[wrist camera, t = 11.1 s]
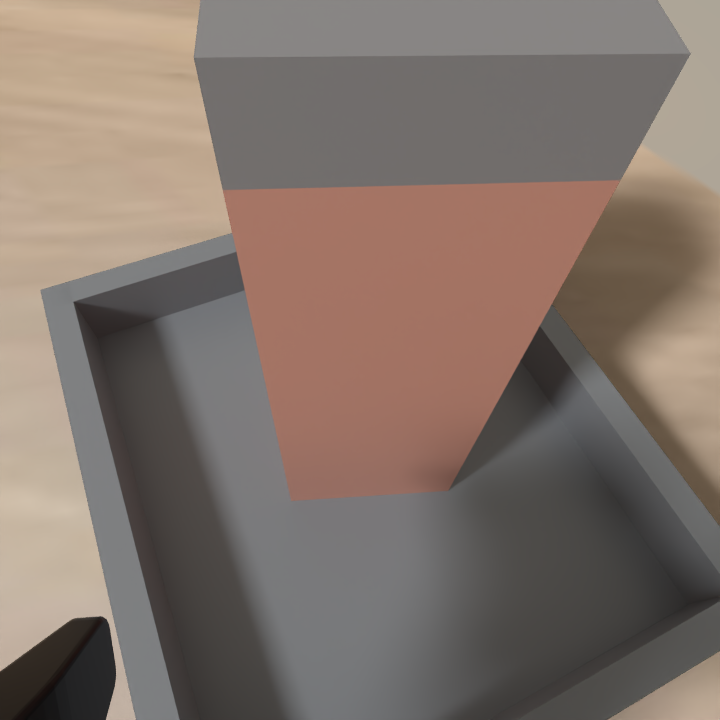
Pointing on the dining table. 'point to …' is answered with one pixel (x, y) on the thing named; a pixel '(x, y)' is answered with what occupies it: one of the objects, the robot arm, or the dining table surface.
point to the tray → (369, 530)
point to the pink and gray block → (414, 204)
